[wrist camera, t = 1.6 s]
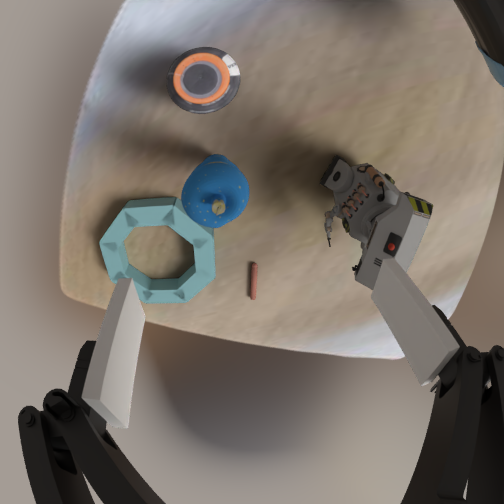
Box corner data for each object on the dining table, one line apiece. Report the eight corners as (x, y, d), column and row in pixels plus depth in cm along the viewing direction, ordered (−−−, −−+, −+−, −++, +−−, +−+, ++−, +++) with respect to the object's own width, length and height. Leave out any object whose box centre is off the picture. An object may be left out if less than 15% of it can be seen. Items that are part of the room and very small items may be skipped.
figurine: (296, 218, 36) (338, 295, 23) (340, 143, 31) (414, 186, 18) (346, 241, 39) (396, 313, 26) (388, 176, 34) (460, 229, 21)
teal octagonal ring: (98, 203, 31) (91, 211, 29) (212, 195, 32) (212, 203, 30) (122, 292, 39) (118, 303, 37) (216, 290, 41) (217, 301, 39)
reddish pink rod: (251, 262, 39) (252, 265, 38) (257, 261, 39) (257, 265, 38) (250, 297, 42) (250, 301, 42) (255, 297, 42) (255, 300, 42)
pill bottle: (229, 54, 23) (237, 33, 14) (239, 102, 27) (251, 108, 17) (175, 66, 23) (152, 52, 14) (185, 114, 27) (169, 126, 17)
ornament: (186, 170, 30) (166, 233, 18) (204, 130, 28) (195, 164, 16) (226, 186, 32) (235, 257, 20) (246, 148, 30) (270, 196, 17)
